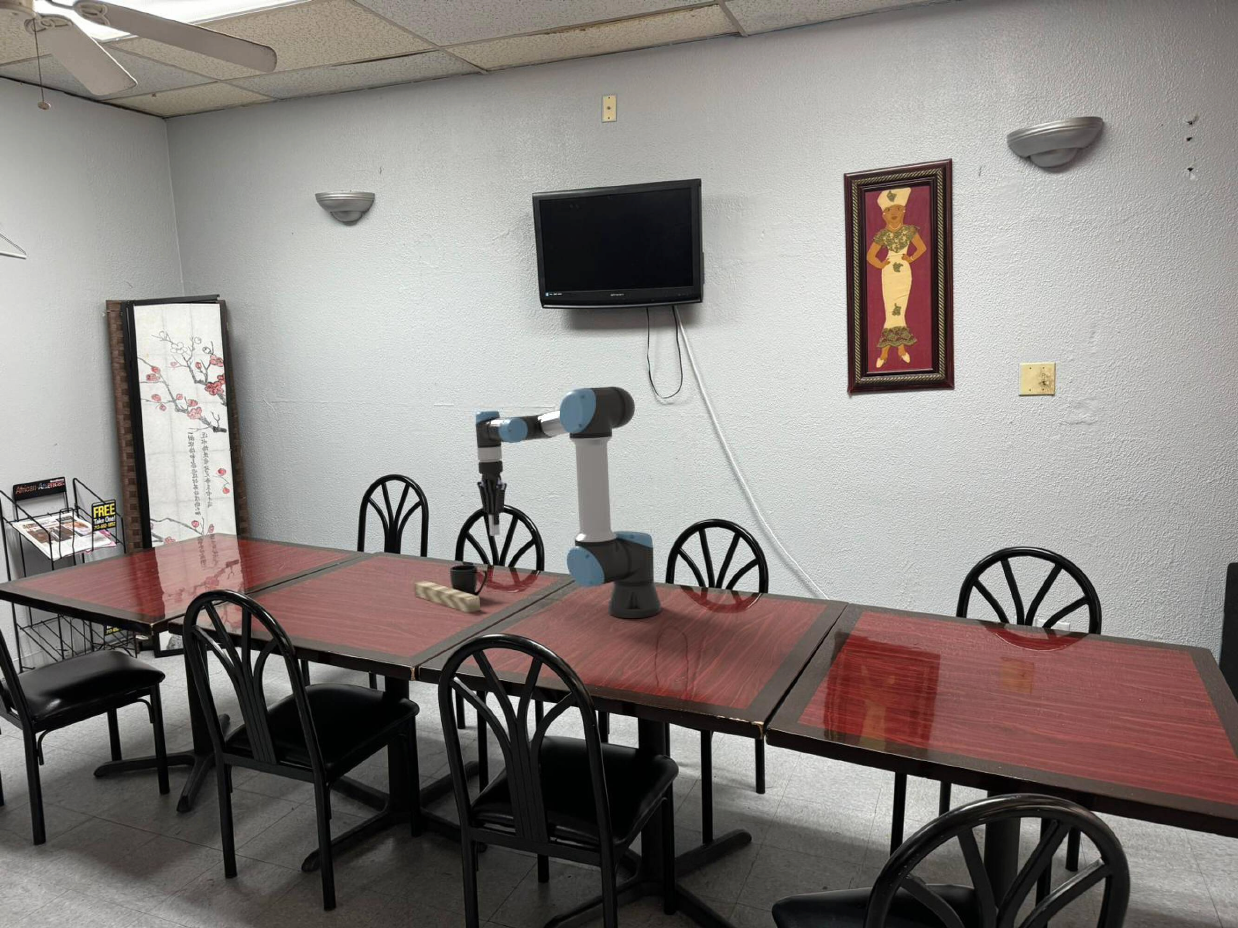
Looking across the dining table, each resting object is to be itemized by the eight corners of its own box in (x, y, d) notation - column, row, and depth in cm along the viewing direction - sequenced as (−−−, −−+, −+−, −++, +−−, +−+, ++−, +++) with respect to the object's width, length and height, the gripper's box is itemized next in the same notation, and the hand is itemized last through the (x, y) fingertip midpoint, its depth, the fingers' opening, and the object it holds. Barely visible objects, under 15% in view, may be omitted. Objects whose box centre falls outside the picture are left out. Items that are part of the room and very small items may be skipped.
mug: (482, 602, 266) (480, 571, 265) (446, 600, 270) (444, 570, 269) (494, 595, 274) (492, 565, 273) (459, 593, 278) (457, 564, 277)
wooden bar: (480, 609, 259) (479, 596, 258) (468, 612, 256) (467, 599, 255) (425, 592, 280) (425, 580, 280) (414, 595, 278) (413, 583, 277)
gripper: (512, 460, 274) (516, 535, 276) (488, 458, 283) (492, 530, 286) (492, 462, 269) (497, 538, 271) (468, 460, 278) (473, 534, 281)
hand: (494, 534), depth 279 cm, fingers closed
